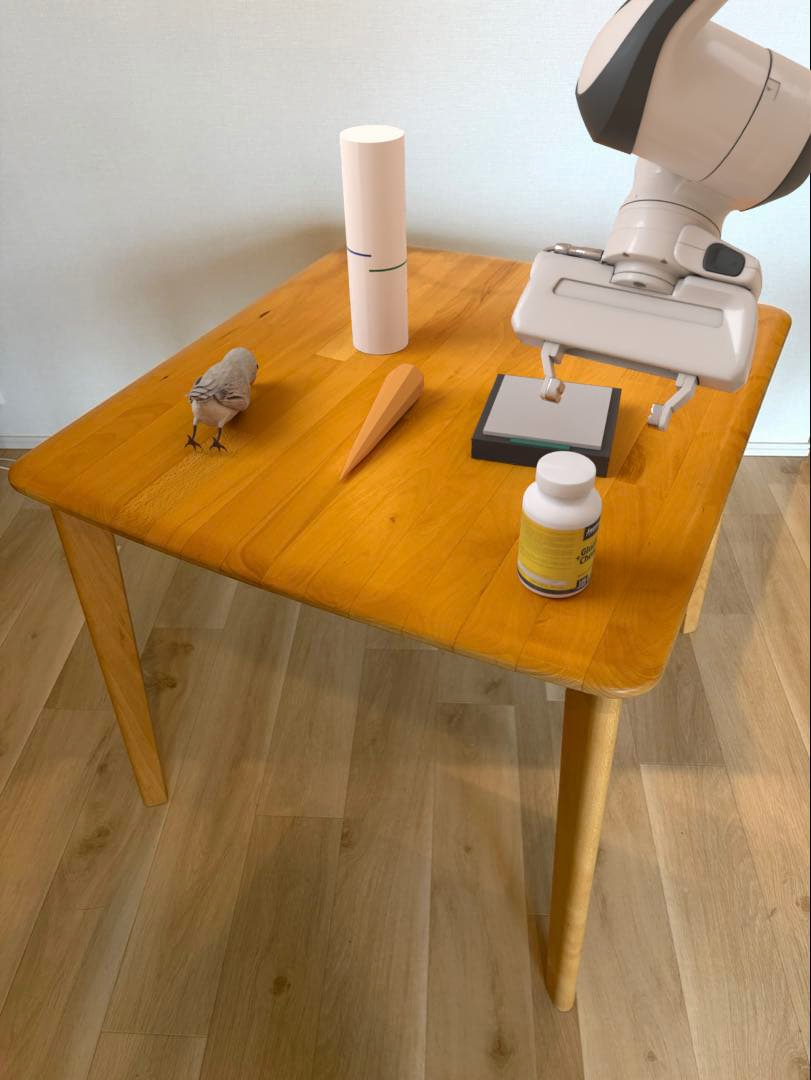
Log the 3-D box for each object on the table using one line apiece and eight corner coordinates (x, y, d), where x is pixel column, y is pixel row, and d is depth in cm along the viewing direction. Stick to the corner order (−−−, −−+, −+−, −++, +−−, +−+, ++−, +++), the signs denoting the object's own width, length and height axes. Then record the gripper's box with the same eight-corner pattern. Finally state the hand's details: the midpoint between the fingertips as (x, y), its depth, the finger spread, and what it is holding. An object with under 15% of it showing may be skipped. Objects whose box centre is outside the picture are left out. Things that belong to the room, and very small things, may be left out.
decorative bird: (273, 384, 102) (265, 326, 97) (228, 460, 90) (216, 398, 85) (230, 381, 103) (220, 323, 98) (179, 456, 90) (165, 394, 86)
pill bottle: (567, 612, 71) (583, 502, 64) (502, 581, 75) (509, 472, 67) (603, 570, 75) (622, 461, 68) (540, 542, 78) (551, 436, 71)
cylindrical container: (367, 325, 113) (356, 122, 97) (416, 334, 111) (414, 127, 95) (343, 349, 108) (328, 139, 92) (395, 358, 106) (388, 145, 90)
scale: (618, 407, 96) (622, 384, 94) (606, 477, 86) (610, 453, 84) (496, 392, 99) (498, 369, 98) (470, 458, 89) (471, 434, 87)
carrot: (403, 393, 101) (387, 360, 99) (435, 387, 98) (420, 354, 96) (330, 501, 88) (310, 467, 86) (365, 498, 86) (345, 462, 83)
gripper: (534, 222, 73) (479, 373, 73) (781, 265, 65) (720, 435, 65) (549, 255, 79) (498, 395, 79) (778, 298, 71) (722, 454, 71)
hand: (601, 414), depth 72 cm, fingers open, 8 cm apart
